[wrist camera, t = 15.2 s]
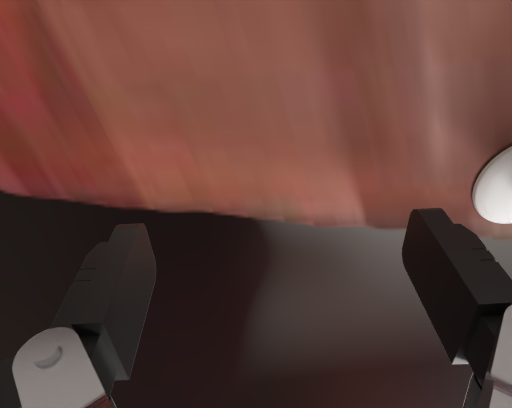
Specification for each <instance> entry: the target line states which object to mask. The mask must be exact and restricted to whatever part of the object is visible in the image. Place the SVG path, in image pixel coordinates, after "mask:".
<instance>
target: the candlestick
mask: <svg viewBox="0 0 512 408" xmlns="http://www.w3.org/2000/svg"><path fill="white" fill-rule="evenodd" d="M472 200H473V204H474V207H475V209H476V210H477V211H478V213H479V214H480V215H481V216H482V217H484V218H485V219H487V220H489V221H492V222H495V223H503V224H507V223H512V146H511V147H509V148H508V149H506V150H504V151H503V152H501V153H500V154H499V155H497V156H496V157H495V158H494V159H492V160H491V161H490V162H489V163H488V164H487V166H486V167H485V168H484V169H483V170H482V172H481V173H480V175H479V176H478V178H477V180H476V182H475V185H474V188H473V193H472Z"/></svg>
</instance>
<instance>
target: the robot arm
mask: <svg viewBox="0 0 512 408" xmlns="http://www.w3.org/2000/svg"><path fill="white" fill-rule="evenodd" d="M402 259H403V264H404V267H405V269H406V272H407V274H408V276H409V278H410V280H411V282H412V284H413V286H414V288H415V290H416V292H417V294H418V296H419V298H420V300H421V302H422V304H423V306H424V308H425V310H426V312H427V314H428V317H429V319H430V320H431V323H432V325H433V327H434V329H435V331H436V333H437V335H438V337H439V339H440V341H441V343H442V345H443V347H444V349H445V351H446V353H447V355H448V357H449V359H450V361H451V363H452V364H469V365H470V367H471V368H472V370H473V372H474V373H473V374H472V377H471V379H470V382H469V386H468V390H467V394H466V397H465V401H464V405H463V408H512V280H511V278H510V277H509V276H508V274H507V273H506V272H505V271H504V269H503V268H502V267H501V266H500V264H499V263H498V262H496V261H495V258H494V257H493V255H492V254H491V253H490V252H489V251H487V248H486V247H485V245H484V244H483V243H482V241H481V240H480V239H479V238H478V236H477V235H476V234H474V233H473V232H471V231H470V230H468V229H467V228H466V227H464V226H463V225H461V224H453V223H452V221H451V220H450V218H449V217H448V216H447V214H446V213H445V212H444V210H443V209H441V208H427V209H414V210H412V212H411V214H410V217H409V221H408V225H407V230H406V234H405V238H404V243H403V247H402ZM155 278H156V263H155V259H154V255H153V251H152V248H151V244H150V241H149V237H148V234H147V230H146V227H145V225H144V224H142V223H141V224H124V225H117V226H116V227H115V229H114V231H113V233H112V235H111V237H110V240H109V242H104V243H99V244H98V245H97V246H96V247H95V248H94V249H93V250H92V251H91V252H89V254H87V256H86V258H85V260H84V262H83V264H82V266H81V268H80V272H78V273H77V276H76V277H75V279H74V284H72V285H71V287H70V289H69V291H68V293H67V295H66V297H65V299H64V301H63V303H62V305H61V307H60V309H59V311H58V313H57V315H56V317H55V319H54V321H53V323H52V325H51V327H50V329H48V330H45V331H43V332H41V333H39V334H37V335H36V336H34V337H33V338H31V339H30V340H29V341H28V342H26V343H25V344H24V345H23V346H22V348H21V349H20V350H19V352H18V353H17V355H16V356H15V357H13V358H11V359H8V360H5V361H2V362H0V408H116V407H115V404H114V402H113V400H112V398H111V396H110V393H111V390H112V387H113V384H114V380H128V379H129V378H130V374H131V370H132V366H133V362H134V359H135V355H136V351H137V347H138V343H139V340H140V336H141V332H142V328H143V325H144V320H145V317H146V313H147V309H148V306H149V302H150V298H151V294H152V290H153V287H154V283H155Z"/></svg>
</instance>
